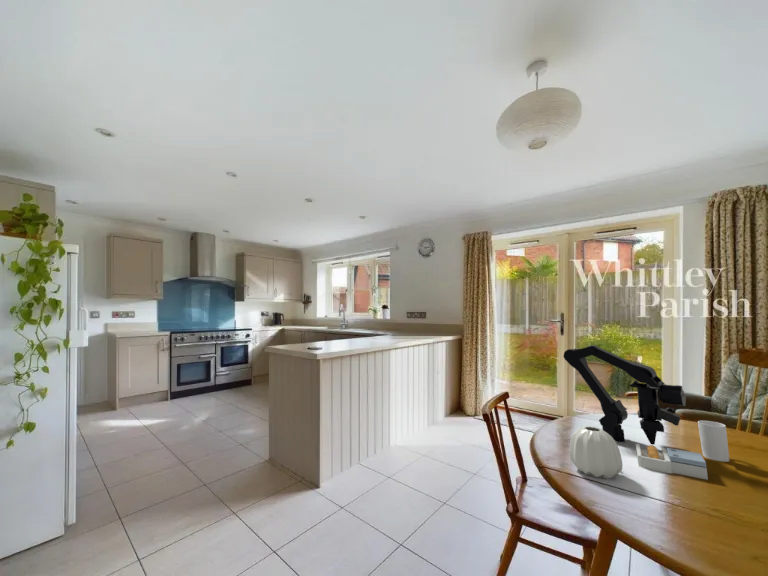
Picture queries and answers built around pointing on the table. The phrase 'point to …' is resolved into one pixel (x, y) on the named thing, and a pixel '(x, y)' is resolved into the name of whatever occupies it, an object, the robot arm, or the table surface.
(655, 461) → the white open box
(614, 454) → the vase
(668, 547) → the table surface
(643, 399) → the robot arm
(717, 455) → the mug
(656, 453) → the orange rounded block
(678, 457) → the cover
